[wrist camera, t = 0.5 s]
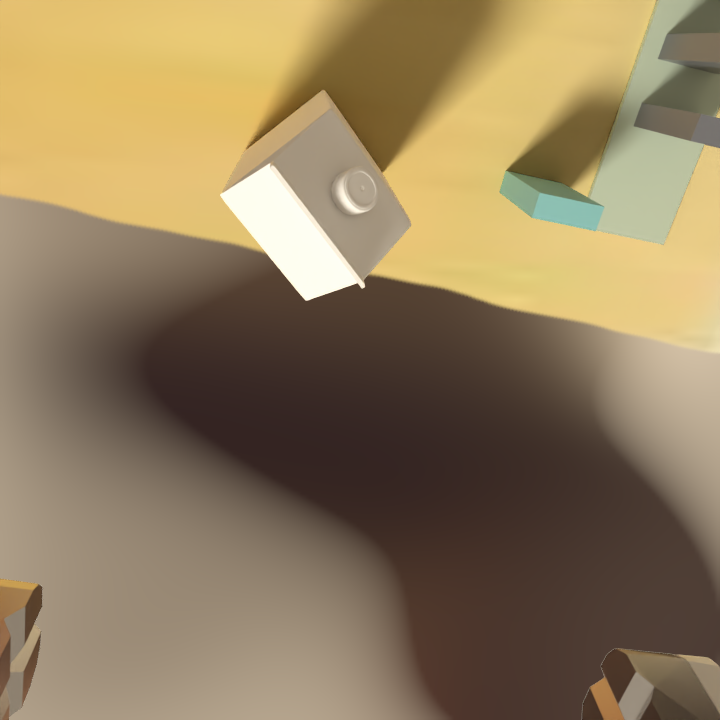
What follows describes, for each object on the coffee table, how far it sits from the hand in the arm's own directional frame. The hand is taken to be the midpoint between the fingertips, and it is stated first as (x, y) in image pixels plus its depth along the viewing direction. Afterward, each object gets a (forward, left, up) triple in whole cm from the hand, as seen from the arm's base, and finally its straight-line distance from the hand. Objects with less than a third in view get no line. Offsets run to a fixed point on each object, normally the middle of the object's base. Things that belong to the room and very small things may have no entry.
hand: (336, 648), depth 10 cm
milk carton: (0, 0, -43) cm, 43 cm away
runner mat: (-12, +24, -43) cm, 51 cm away
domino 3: (-8, +24, -43) cm, 50 cm away
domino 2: (-12, +24, -43) cm, 51 cm away
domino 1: (-1, +16, -43) cm, 46 cm away
